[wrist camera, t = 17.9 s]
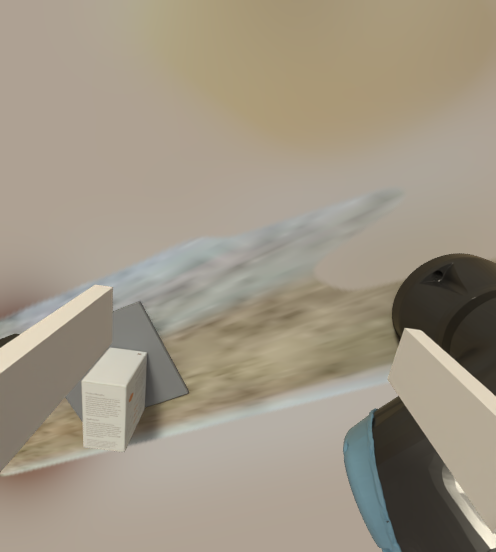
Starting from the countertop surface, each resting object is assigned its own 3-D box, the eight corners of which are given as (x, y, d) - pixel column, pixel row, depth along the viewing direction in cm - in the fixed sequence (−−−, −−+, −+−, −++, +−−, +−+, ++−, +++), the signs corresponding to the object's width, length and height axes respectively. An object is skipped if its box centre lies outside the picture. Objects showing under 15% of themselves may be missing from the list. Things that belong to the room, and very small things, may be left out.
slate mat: (140, 301, 42) (138, 302, 42) (188, 390, 46) (188, 393, 46) (31, 342, 44) (28, 344, 44) (87, 424, 49) (85, 427, 48)
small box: (109, 405, 47) (109, 345, 44) (145, 410, 47) (148, 350, 44) (81, 448, 39) (79, 380, 36) (124, 454, 39) (126, 385, 36)
